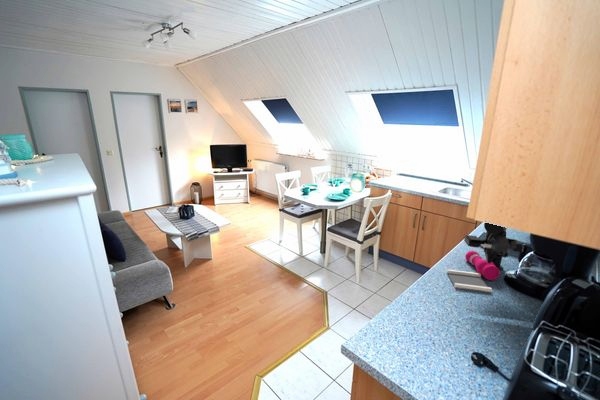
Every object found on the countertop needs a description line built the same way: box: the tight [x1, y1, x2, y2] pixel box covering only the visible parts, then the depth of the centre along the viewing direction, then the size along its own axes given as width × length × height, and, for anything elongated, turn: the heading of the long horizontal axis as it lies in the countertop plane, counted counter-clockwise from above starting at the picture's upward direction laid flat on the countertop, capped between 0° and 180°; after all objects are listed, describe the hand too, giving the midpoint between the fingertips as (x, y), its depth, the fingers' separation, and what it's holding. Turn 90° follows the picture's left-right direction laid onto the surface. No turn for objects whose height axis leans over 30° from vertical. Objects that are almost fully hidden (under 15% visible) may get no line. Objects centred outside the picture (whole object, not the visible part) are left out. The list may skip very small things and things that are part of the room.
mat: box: [446, 269, 493, 294], centre depth 115 cm, size 12×13×2 cm
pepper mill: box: [464, 250, 500, 281], centre depth 125 cm, size 7×7×20 cm
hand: (488, 262), depth 111 cm, fingers closed
